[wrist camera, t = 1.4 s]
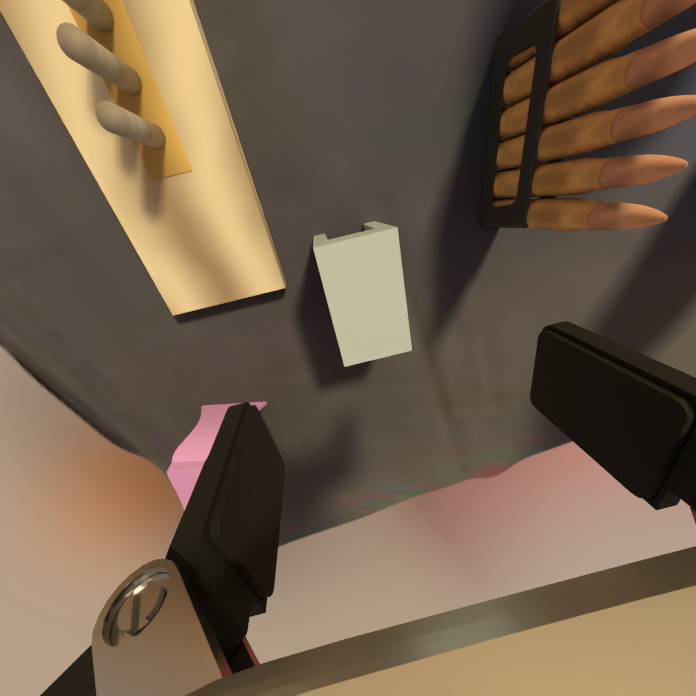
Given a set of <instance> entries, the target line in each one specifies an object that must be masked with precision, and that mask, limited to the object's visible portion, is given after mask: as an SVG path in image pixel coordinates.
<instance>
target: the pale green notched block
mask: <svg viewBox="0 0 696 696" xmlns="http://www.w3.org/2000/svg"><path fill="white" fill-rule="evenodd" d="M363 225H364V231H363V232H359V233H355V234H351V235H346V236H342V237H338V238H334V239H330V240H327V238H326V235H325V234H321V235H317V236H314V239H313V250H314V253H315V257H316V261H317V265H318V269H319V272H320V276H321V280H322V284H323V288H324V291H325V295H326V299H327V303H328V306H329V310H330V314H331V318H332V322H333V325H334V329H335V333H336V337H337V340H338V344H339V348H340V352H341V356H342V359H343V363H344V367H346V366H350V365H354V364H358V363H362V362H367V361H371V360H375V359H379V358H383V357H387V356H391V355H395V354H400V353H404V352H408V351H412V347H411V339H410V330H409V322H408V313H407V305H406V296H405V288H404V279H403V271H402V262H401V254H400V245H399V237H398V228H397V227H394V226H390V225H387V224H383V223H379V222H376V221H374V222H370V223H366V224H363Z"/></svg>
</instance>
